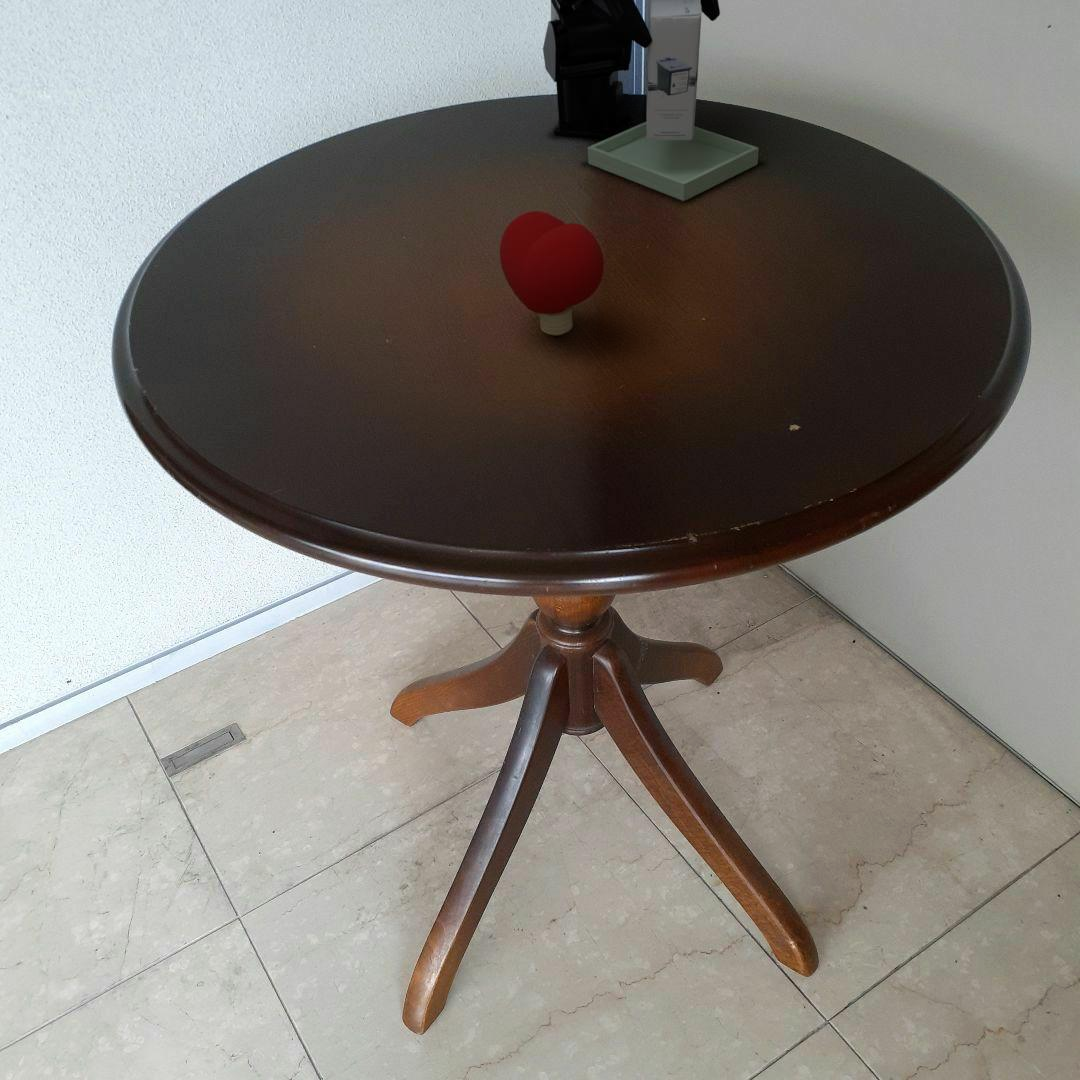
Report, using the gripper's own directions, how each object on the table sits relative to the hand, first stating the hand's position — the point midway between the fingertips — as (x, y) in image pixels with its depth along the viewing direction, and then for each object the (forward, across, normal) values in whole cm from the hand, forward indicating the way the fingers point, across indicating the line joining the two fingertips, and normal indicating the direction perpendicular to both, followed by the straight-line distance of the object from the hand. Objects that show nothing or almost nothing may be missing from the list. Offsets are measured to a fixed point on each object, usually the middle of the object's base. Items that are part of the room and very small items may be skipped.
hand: (683, 31), depth 98 cm
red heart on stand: (+20, -30, -1) cm, 36 cm away
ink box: (+6, 0, +8) cm, 10 cm away
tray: (+9, 0, +10) cm, 14 cm away
